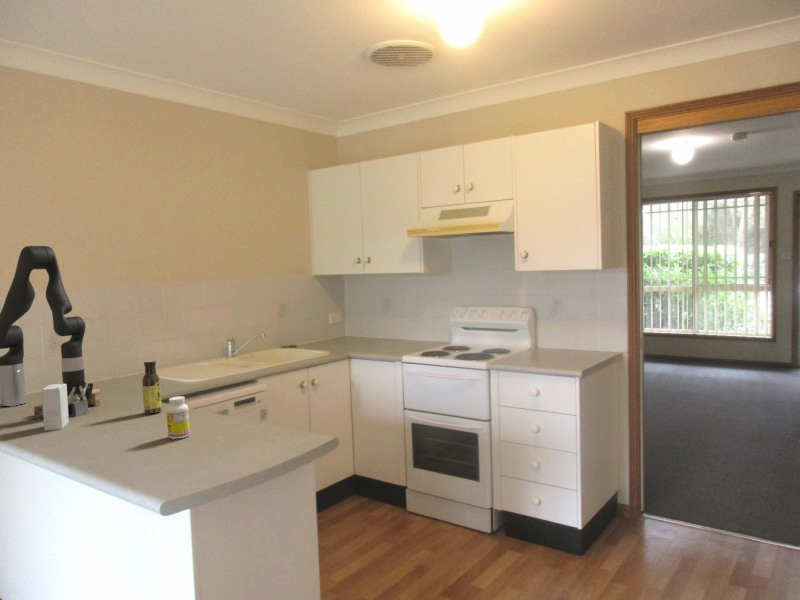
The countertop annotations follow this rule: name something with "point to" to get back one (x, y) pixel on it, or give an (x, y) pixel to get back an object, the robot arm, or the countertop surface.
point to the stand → (92, 397)
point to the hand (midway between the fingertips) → (76, 412)
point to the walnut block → (38, 409)
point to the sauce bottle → (151, 389)
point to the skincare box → (55, 406)
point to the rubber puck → (37, 416)
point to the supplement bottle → (178, 418)
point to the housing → (79, 407)
